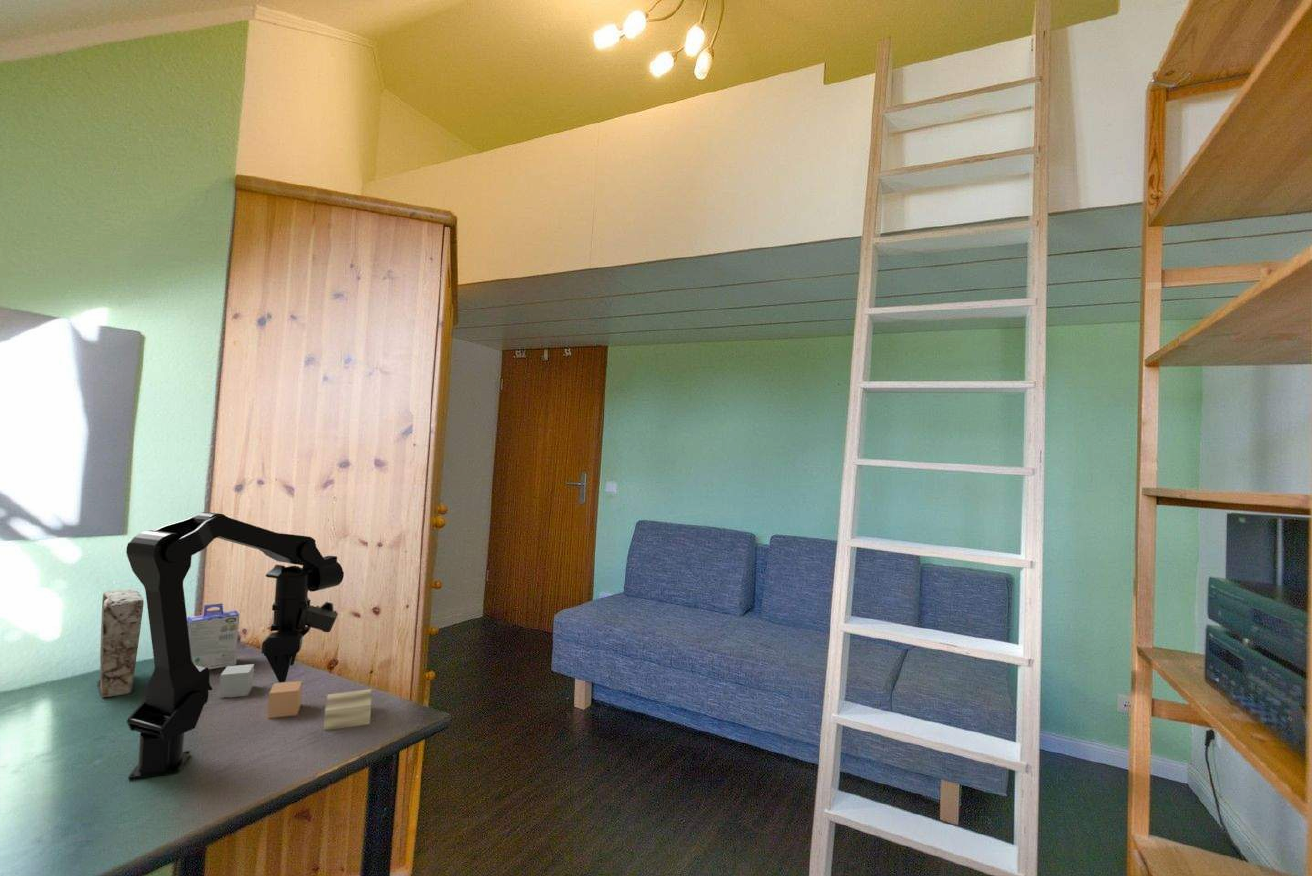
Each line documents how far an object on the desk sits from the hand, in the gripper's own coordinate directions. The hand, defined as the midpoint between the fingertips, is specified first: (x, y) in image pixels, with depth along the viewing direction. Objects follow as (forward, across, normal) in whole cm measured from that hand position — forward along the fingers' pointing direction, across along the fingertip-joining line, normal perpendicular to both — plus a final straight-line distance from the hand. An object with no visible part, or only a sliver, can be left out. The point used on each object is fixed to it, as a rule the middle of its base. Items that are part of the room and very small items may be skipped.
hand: (286, 673), depth 118 cm
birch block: (+8, -7, -12) cm, 16 cm away
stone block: (+8, +23, +35) cm, 43 cm away
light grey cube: (+8, +13, +11) cm, 19 cm away
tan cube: (+8, 0, 0) cm, 8 cm away
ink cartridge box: (+8, +31, +20) cm, 38 cm away
